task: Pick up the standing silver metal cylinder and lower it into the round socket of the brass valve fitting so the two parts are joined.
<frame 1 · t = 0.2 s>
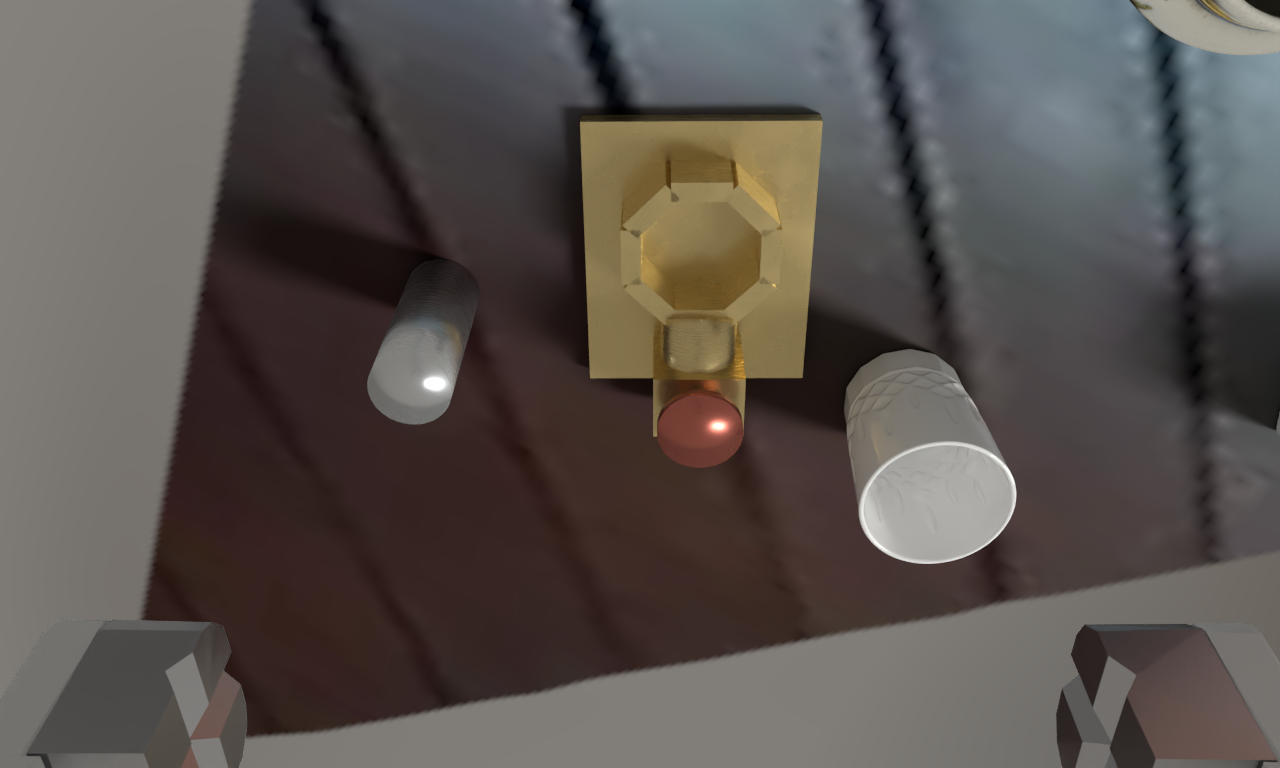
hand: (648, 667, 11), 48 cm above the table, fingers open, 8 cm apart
silver metal cylinder: (443, 291, 63), on the table
brass valve fitting: (698, 224, 60), on the table
white cup: (901, 395, 66), on the table
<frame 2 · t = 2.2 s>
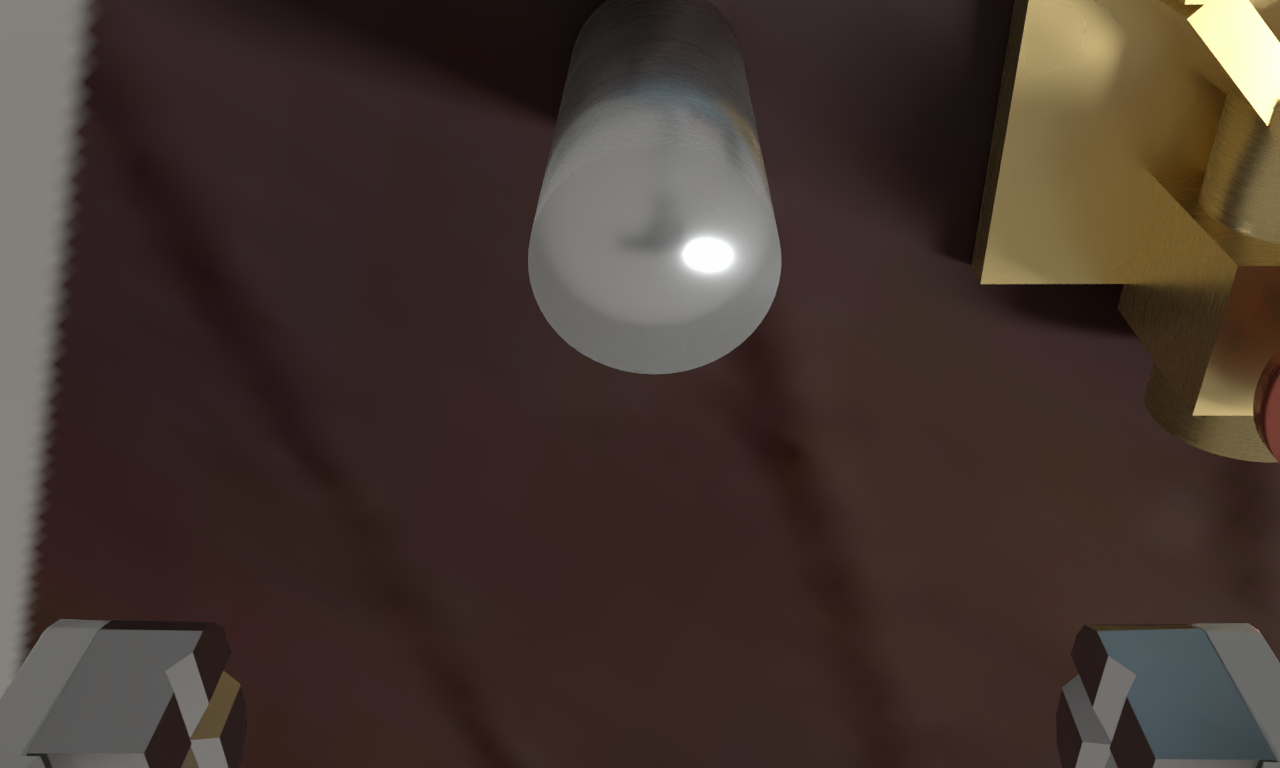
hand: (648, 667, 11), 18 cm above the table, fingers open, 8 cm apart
silver metal cylinder: (656, 72, 26), on the table
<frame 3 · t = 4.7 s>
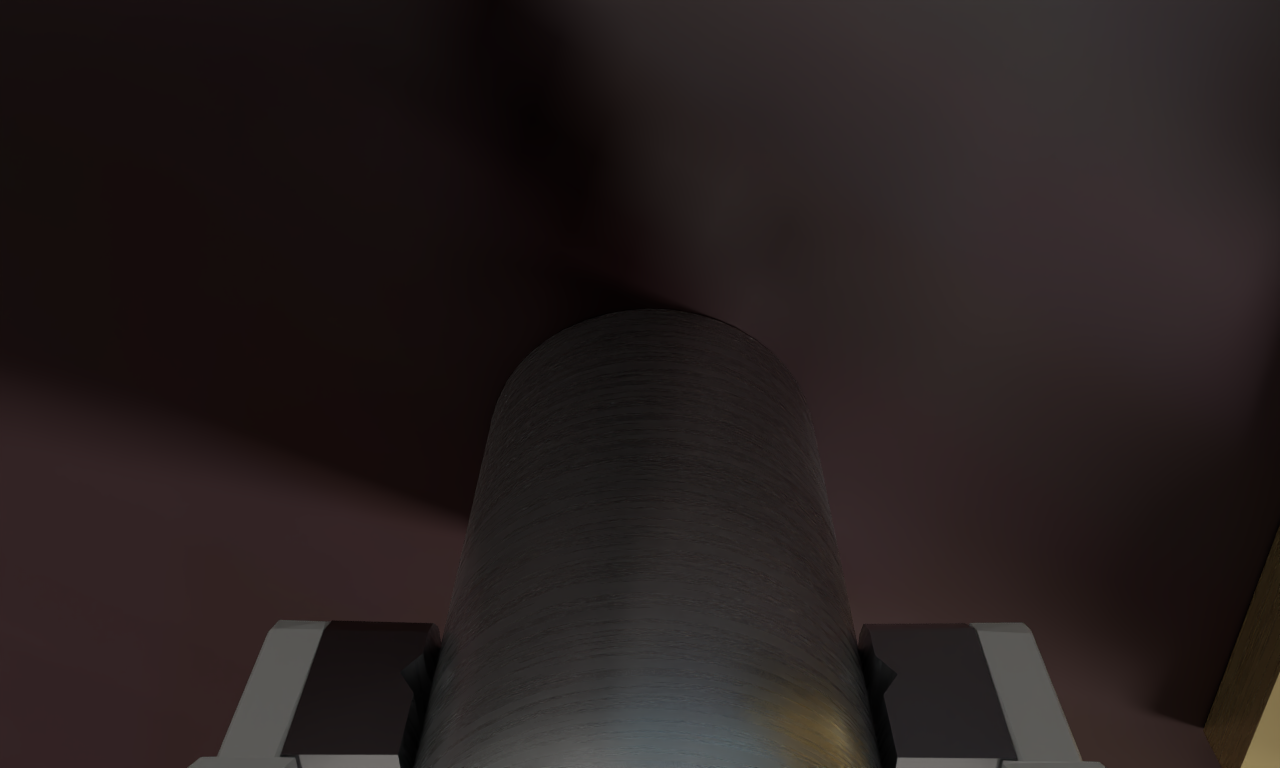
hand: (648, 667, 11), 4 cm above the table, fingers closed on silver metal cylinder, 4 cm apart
silver metal cylinder: (651, 451, 14), on the table, touching gripper
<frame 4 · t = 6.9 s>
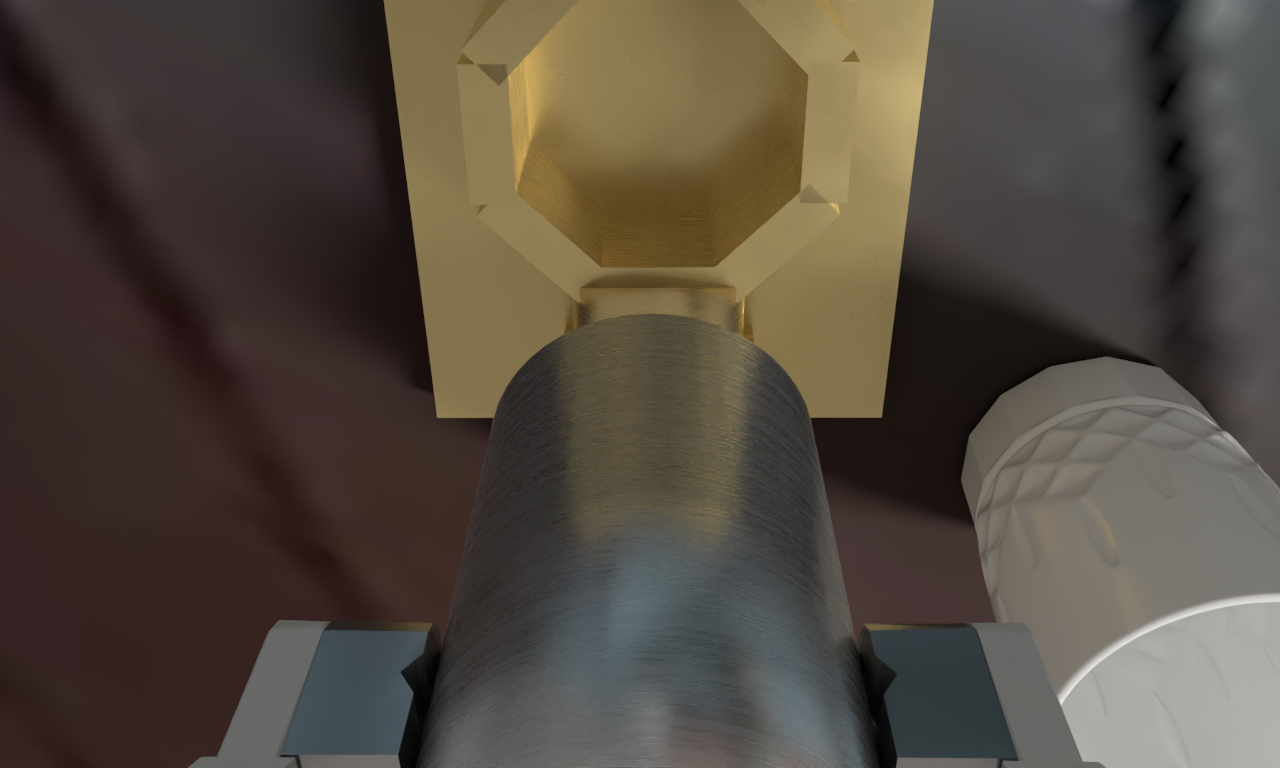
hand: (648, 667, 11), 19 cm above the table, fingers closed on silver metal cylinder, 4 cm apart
silver metal cylinder: (651, 455, 14), point 15 cm above the table, touching gripper
brass valve fitting: (658, 76, 27), on the table
white cup: (1077, 451, 32), on the table
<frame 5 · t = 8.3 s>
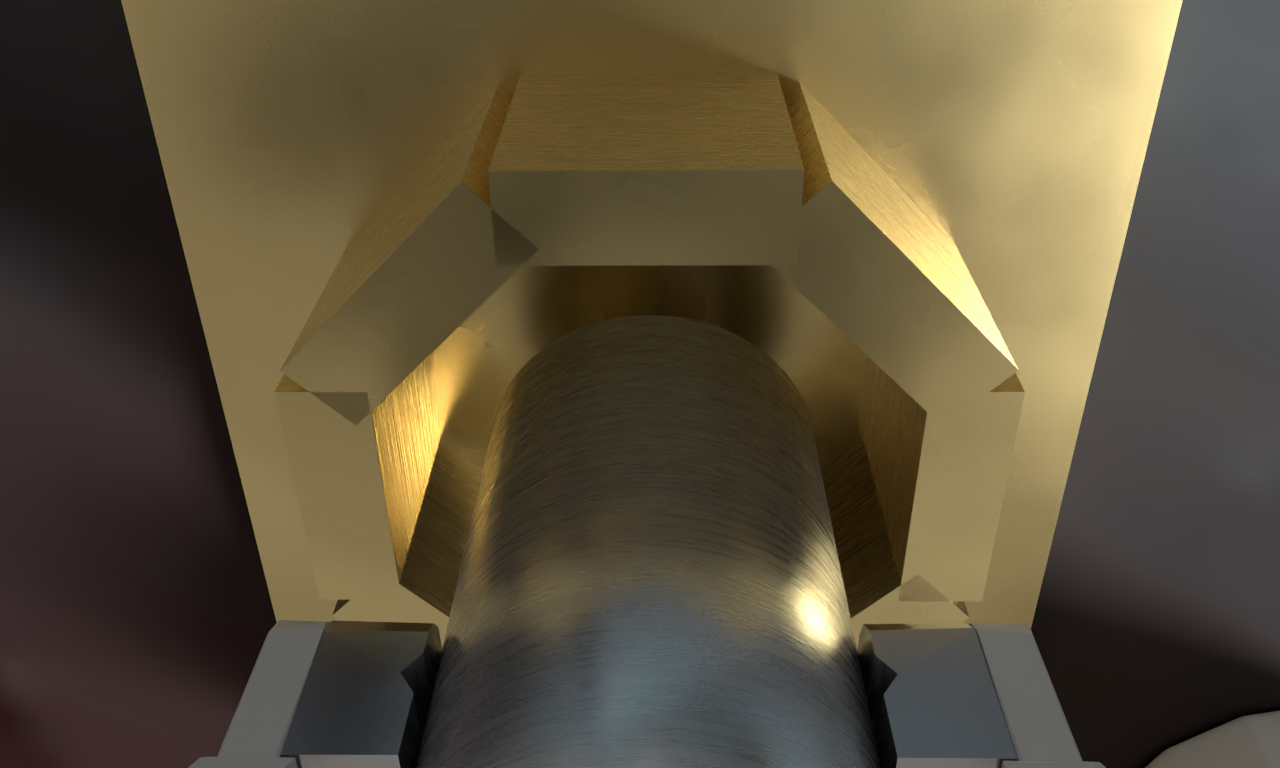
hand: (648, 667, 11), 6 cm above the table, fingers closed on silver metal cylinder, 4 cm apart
silver metal cylinder: (651, 456, 14), point 3 cm above the table, touching gripper
brass valve fitting: (650, 328, 16), on the table
when the fingers open (6 cm above the table, at t = 9.4 s): silver metal cylinder stays where it is, resting on brass valve fitting.
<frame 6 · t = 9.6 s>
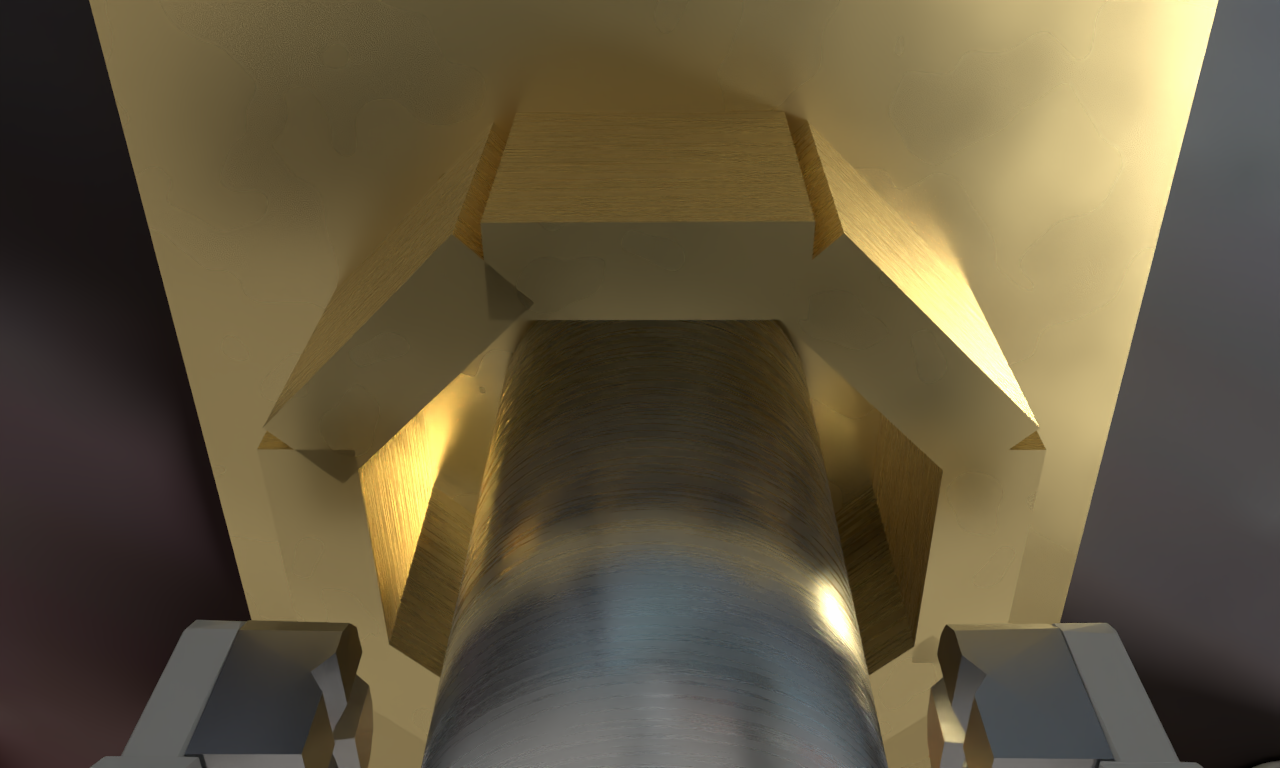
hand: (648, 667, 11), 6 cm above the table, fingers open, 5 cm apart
silver metal cylinder: (655, 410, 15), point 1 cm above the table, touching brass valve fitting
brass valve fitting: (652, 369, 16), on the table
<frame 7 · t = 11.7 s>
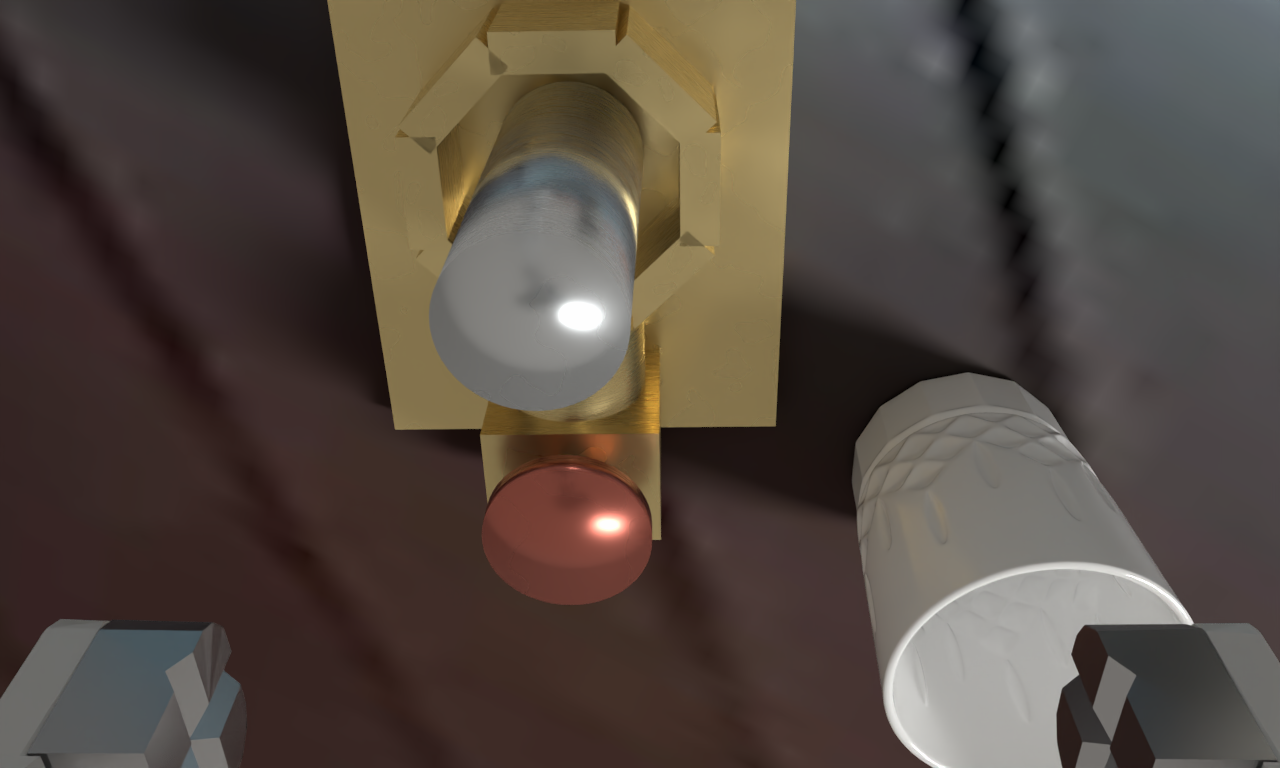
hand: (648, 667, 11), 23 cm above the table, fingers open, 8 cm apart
silver metal cylinder: (570, 153, 31), point 1 cm above the table, touching brass valve fitting
brass valve fitting: (571, 140, 32), on the table
white cup: (952, 455, 37), on the table
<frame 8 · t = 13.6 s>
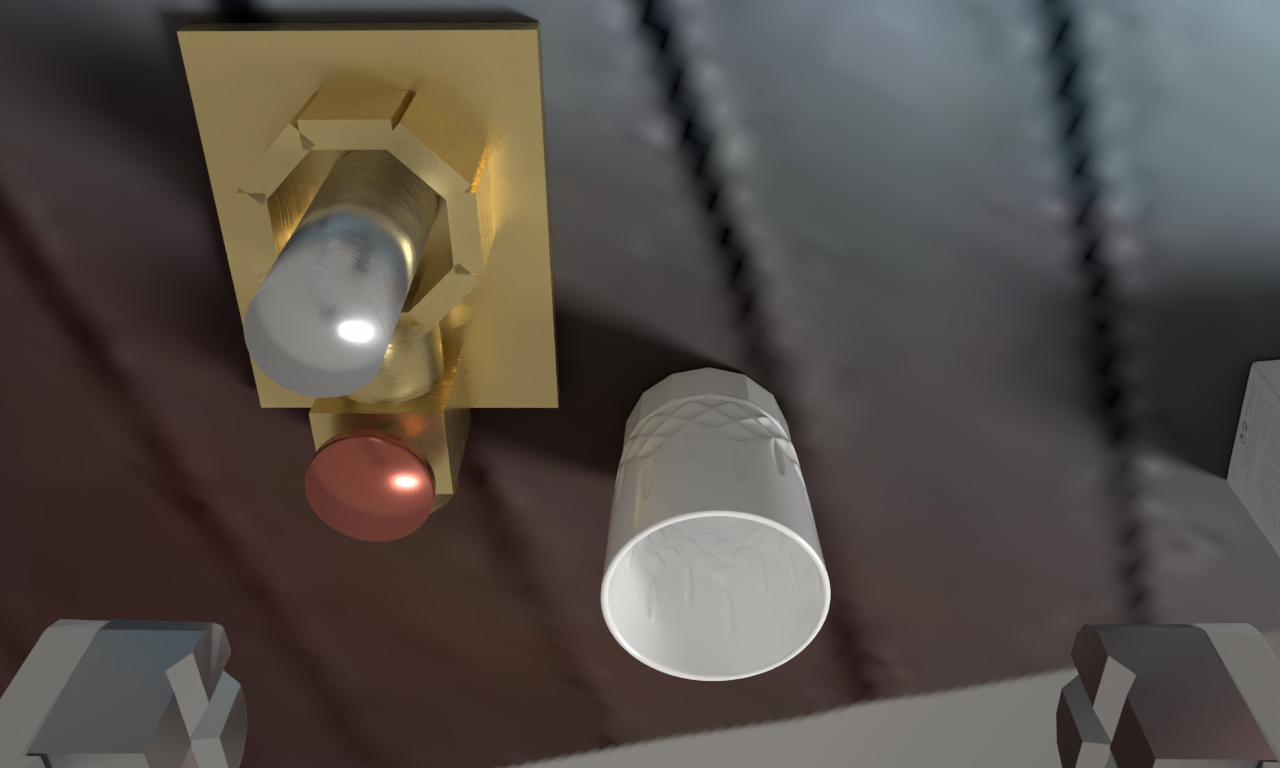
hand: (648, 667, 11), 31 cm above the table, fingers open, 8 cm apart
silver metal cylinder: (381, 199, 41), point 1 cm above the table, touching brass valve fitting
brass valve fitting: (385, 188, 42), on the table
white cup: (705, 431, 48), on the table
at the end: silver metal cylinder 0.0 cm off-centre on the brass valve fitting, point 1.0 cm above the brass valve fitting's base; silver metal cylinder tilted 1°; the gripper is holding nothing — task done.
